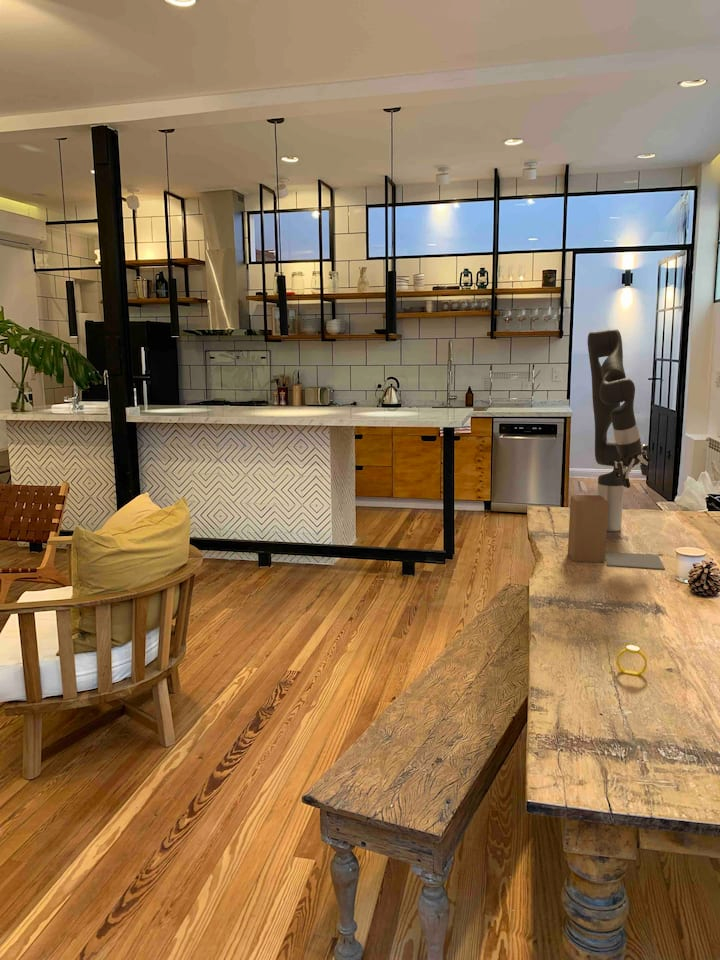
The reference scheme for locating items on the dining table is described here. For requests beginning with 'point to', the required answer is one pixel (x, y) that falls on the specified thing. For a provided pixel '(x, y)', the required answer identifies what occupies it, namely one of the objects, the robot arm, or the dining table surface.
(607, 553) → the charcoal mat
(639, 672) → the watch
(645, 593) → the dining table surface
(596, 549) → the wooden block
